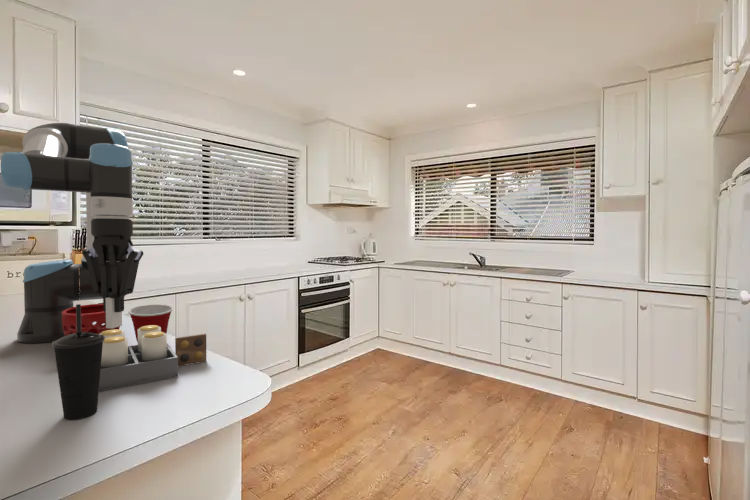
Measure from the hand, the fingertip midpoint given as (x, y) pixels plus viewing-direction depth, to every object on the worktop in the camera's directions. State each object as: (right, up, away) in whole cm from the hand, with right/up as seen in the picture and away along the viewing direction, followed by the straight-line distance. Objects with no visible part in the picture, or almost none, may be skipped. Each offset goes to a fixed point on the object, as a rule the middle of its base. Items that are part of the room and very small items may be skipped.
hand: (114, 326), depth 86 cm
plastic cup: (-5, -11, +23) cm, 26 cm away
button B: (+1, -8, +11) cm, 14 cm away
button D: (+6, -8, +5) cm, 11 cm away
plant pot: (-21, -11, +23) cm, 33 cm away
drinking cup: (+3, -13, -14) cm, 20 cm away
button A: (-5, -8, +7) cm, 11 cm away
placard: (+10, -12, +14) cm, 21 cm away
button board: (0, -12, +6) cm, 14 cm away
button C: (0, -8, +1) cm, 8 cm away
